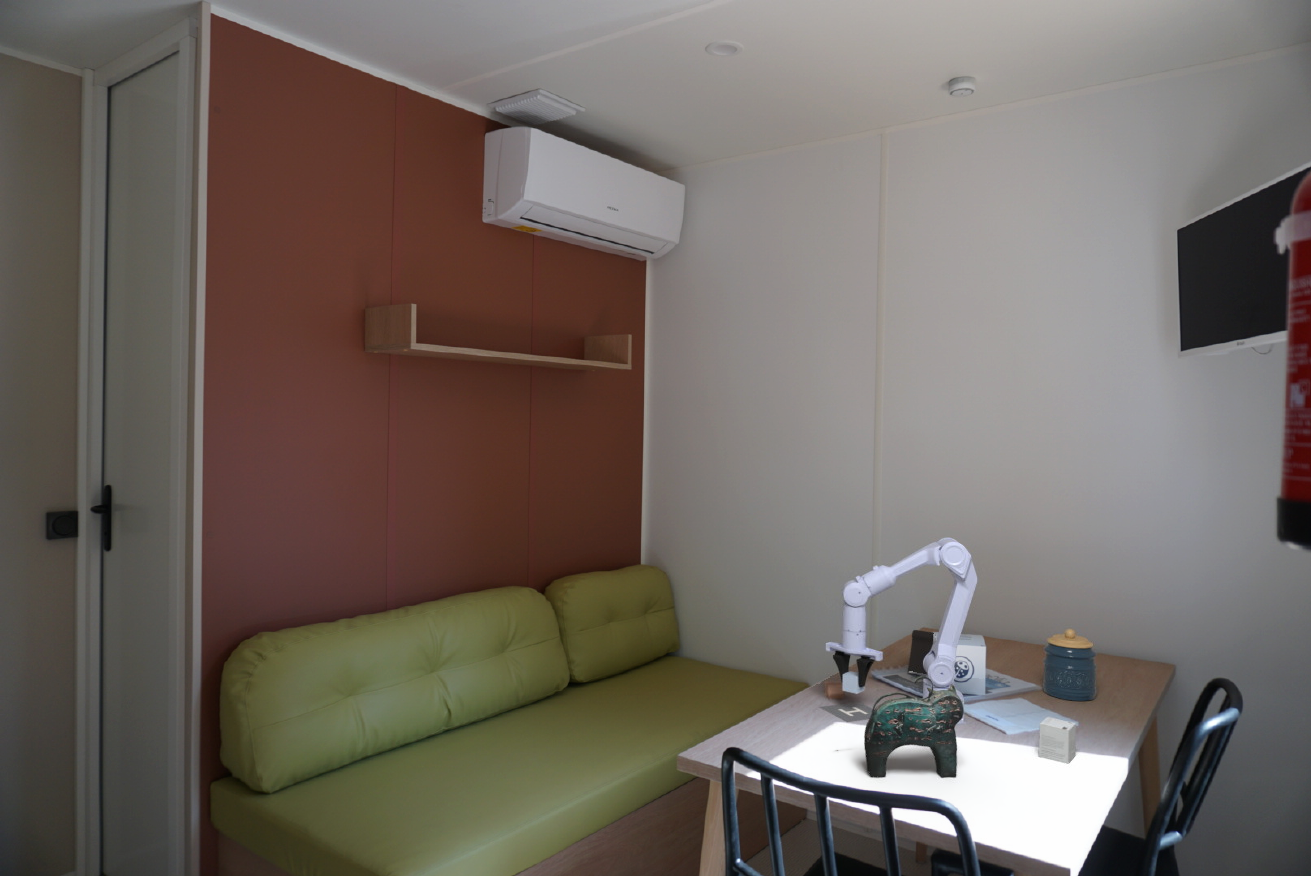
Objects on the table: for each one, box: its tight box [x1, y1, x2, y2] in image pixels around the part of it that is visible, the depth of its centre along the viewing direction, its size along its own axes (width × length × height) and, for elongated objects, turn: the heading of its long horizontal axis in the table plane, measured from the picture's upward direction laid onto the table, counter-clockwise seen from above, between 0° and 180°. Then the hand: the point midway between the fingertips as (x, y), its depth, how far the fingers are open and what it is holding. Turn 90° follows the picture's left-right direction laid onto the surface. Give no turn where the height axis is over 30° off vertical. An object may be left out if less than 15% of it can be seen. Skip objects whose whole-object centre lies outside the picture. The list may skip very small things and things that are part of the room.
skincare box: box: [1038, 716, 1077, 765], centre depth 182 cm, size 6×6×7 cm
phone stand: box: [907, 629, 935, 674], centre depth 247 cm, size 9×6×12 cm, turn 143°
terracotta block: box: [824, 681, 845, 700], centre depth 221 cm, size 4×4×4 cm
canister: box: [1042, 628, 1098, 702], centre depth 227 cm, size 13×13×18 cm
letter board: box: [819, 701, 873, 723], centre depth 208 cm, size 12×12×1 cm
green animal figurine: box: [863, 676, 965, 779], centre depth 171 cm, size 20×6×20 cm, turn 92°
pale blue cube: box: [842, 670, 866, 695], centre depth 209 cm, size 4×4×4 cm
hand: (853, 684), depth 208 cm, fingers closed on pale blue cube, 4 cm apart
